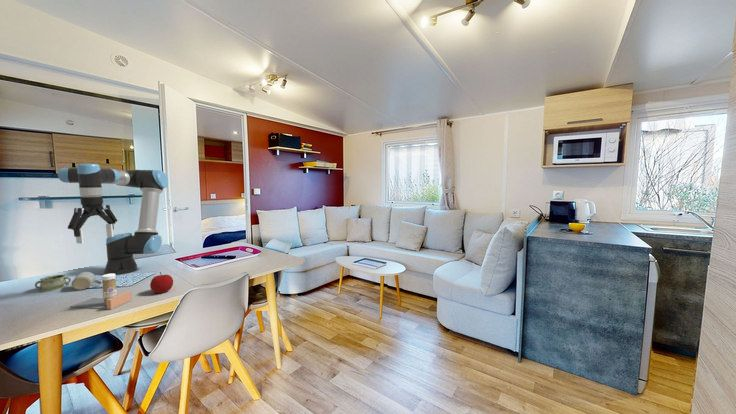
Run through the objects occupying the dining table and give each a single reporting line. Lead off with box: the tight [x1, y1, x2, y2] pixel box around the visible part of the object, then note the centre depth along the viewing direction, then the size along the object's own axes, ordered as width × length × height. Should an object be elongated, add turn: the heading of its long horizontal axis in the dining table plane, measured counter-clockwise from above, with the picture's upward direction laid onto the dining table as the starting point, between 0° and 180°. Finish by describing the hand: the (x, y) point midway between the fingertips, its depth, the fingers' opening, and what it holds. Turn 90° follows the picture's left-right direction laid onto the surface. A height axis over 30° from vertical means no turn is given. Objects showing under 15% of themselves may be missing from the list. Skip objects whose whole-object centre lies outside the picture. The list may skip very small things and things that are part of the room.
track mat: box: [70, 291, 132, 310], centre depth 121 cm, size 9×20×4 cm, turn 84°
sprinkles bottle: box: [101, 273, 118, 305], centre depth 121 cm, size 5×5×13 cm
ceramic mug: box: [71, 271, 103, 291], centre depth 140 cm, size 11×8×8 cm
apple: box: [149, 272, 174, 294], centre depth 136 cm, size 9×9×10 cm
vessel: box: [34, 274, 72, 293], centre depth 137 cm, size 12×9×6 cm
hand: (96, 239), depth 130 cm, fingers open, 13 cm apart
